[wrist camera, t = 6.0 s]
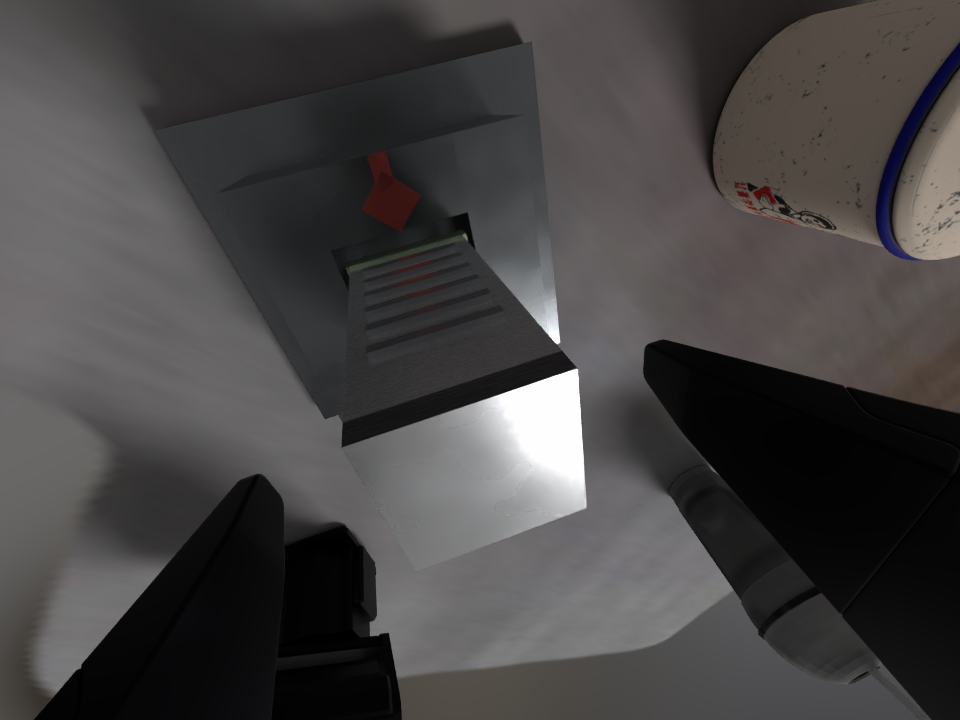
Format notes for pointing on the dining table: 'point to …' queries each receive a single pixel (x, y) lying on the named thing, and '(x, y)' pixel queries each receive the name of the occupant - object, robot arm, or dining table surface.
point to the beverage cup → (775, 586)
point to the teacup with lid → (853, 127)
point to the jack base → (373, 192)
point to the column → (456, 402)
